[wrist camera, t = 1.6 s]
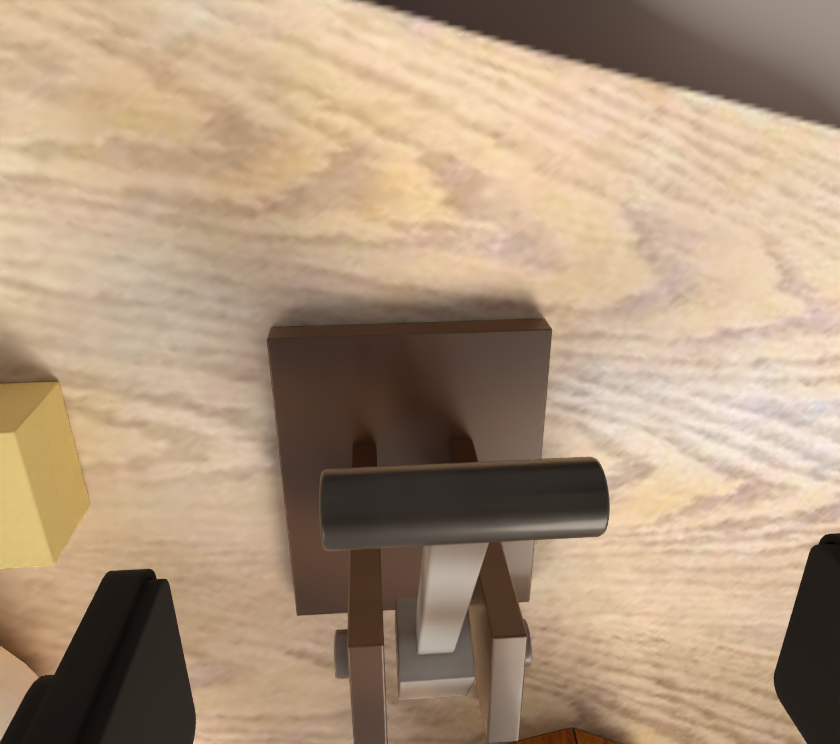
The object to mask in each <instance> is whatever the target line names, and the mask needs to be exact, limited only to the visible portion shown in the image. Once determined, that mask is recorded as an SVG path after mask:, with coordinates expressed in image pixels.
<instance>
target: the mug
mask: <svg viewBox="0 0 840 744" xmlns="http://www.w3.org/2000/svg"><path fill="white" fill-rule="evenodd" d="M510 744H619V743H616V742H613V741H610V740H607V739H604V738H601V737H598V736H596V735H593V734H590V733H587V732H584V731H581V730H578V729H575V728H569V729H565V730H561V731H557V732H553V733H549V734H545V735H542V736H538V737H534V738H530V739H526V740H522V741H518V742H514V743H510Z"/></svg>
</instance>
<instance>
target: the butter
mask: <svg viewBox="0 0 840 744" xmlns="http://www.w3.org/2000/svg"><path fill="white" fill-rule="evenodd" d="M89 505H90V501H89V497H88V494H87V490H86V486H85V482H84V478H83V474H82V470H81V466H80V462H79V458H78V455H77V451H76V447H75V443H74V439H73V435H72V431H71V427H70V423H69V420H68V416H67V412H66V408H65V404H64V400H63V396H62V392H61V388H60V385H59V382H34V383H7V384H0V569H5V568H23V567H42V566H53V565H54V564H55V563H56V561H57V559H58V558H59V556H60V554H61V552H62V551H63V549H64V547H65V546H66V544H67V542H68V541H69V539H70V537H71V536H72V534H73V532H74V531H75V529H76V527H77V526H78V524H79V522H80V520H81V519H82V517H83V515H84V514H85V512H86V510H87V509H88V507H89Z"/></svg>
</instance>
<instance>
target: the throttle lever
mask: <svg viewBox="0 0 840 744" xmlns="http://www.w3.org/2000/svg"><path fill="white" fill-rule="evenodd" d="M609 510H610V503H609V491H608V485H607V481H606V477H605V474H604V471H603V468H602V466H601V464H600V463H599V461H598V460H597V459H595V458H593V457H573V458H552V459H530V460H508V461H487V462H465V463H443V464H422V465H400V466H378V467H357V468H335V469H325V470H323V471H322V473H321V477H320V489H319V514H320V533H321V541H322V546H323V548H324V550H326V551H344V550H363V549H381V548H400V547H418V546H423V553H422V562H421V572H420V581H419V591H418V597H413V598H397V599H396V600H395V634H396V655H397V677H398V698H399V700H407V699H421V698H436V697H450V696H465V695H467V694H468V692H469V690H470V688H471V686H472V683H473V681H474V679H475V677H476V674H475V665H474V656H473V646H472V637H471V627H470V618H469V609H468V607H469V603H470V600H471V597H472V594H473V591H474V588H475V585H476V582H477V578H478V575H479V572H480V569H481V566H482V563H483V560H484V557H485V553H486V550H487V547H488V544H489V543H492V542H510V541H529V540H547V539H566V538H584V537H599V536H601V535H602V534H604V533H605V531H606V529H607V525H608V520H609Z"/></svg>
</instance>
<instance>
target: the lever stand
mask: <svg viewBox="0 0 840 744" xmlns="http://www.w3.org/2000/svg"><path fill="white" fill-rule="evenodd" d="M551 337H552V329H551V327H550V326H549V324H548V323H547V321H546V320H545V319H518V320H487V321H456V322H425V323H394V324H363V325H332V326H301V327H272V328H270V331H269V335H268V338H267V345H268V354H269V363H270V372H271V382H272V391H273V400H274V409H275V418H276V428H277V437H278V446H279V455H280V464H281V474H282V483H283V492H284V501H285V510H286V520H287V529H288V538H289V547H290V556H291V566H292V575H293V584H294V593H295V602H296V612H297V616H301V615H317V614H334V613H348V629H345V630H336V631H335V637H334V665H335V676H336V678H337V679H343V678H349V679H350V694H351V708H352V723H353V737H354V744H388V742H387V715H386V688H385V661H384V634H383V611H384V610H395V600H396V599H397V598H413V597H418V591H419V581H420V572H421V562H422V553H423V546H418V547H400V548H381V549H363V550H344V551H326V550H324V548H323V546H322V541H321V533H320V514H319V489H320V477H321V473H322V471H323V470H325V469H335V468H357V467H378V466H400V465H422V464H443V463H465V462H487V461H508V460H530V459H541V456H542V444H543V432H544V420H545V408H546V396H547V384H548V373H549V361H550V349H551ZM533 552H534V540H529V541H510V542H492V543H489V544H488V547H487V550H486V553H485V557H484V560H483V563H482V566H481V569H480V572H479V575H478V578H477V582H476V585H475V588H474V591H473V594H472V597H471V600H470V603H469V607H468V609H469V618H470V627H471V637H472V646H473V656H474V665H475V674H476V677H475V680H476V686H477V691H478V697H479V703H480V708H481V714H482V719H483V725H484V730H485V736H486V741H487V743H500V742H514V741H518V740H519V730H520V718H521V707H522V695H523V683H524V671H525V666H529V665H530V664H531V659H532V647H531V638H530V632H529V628H528V624H527V622H526V620H525V619H523V618H522V614H521V611H520V607H519V603H518V602H529V600H530V588H531V576H532V564H533Z"/></svg>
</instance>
